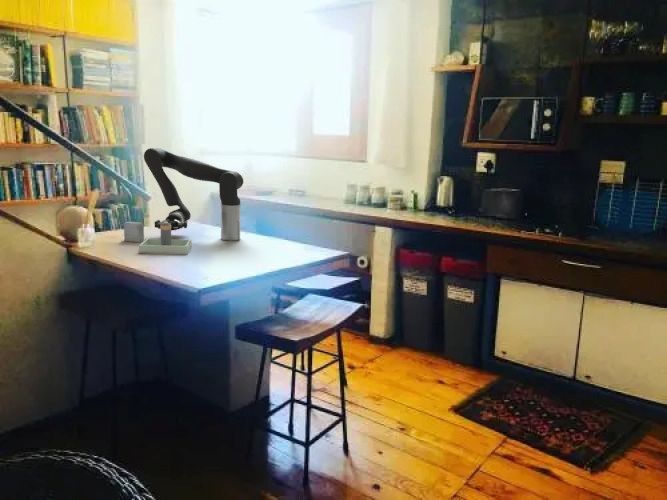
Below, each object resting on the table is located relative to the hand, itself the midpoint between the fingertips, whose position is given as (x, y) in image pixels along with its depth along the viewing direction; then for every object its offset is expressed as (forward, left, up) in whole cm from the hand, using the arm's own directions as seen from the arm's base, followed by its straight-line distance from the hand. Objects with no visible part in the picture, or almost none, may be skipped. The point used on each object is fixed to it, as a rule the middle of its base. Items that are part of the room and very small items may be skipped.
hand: (168, 226), depth 251 cm
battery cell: (0, +6, -9) cm, 11 cm away
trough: (0, +6, -9) cm, 11 cm away
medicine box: (+18, -13, -10) cm, 25 cm away
